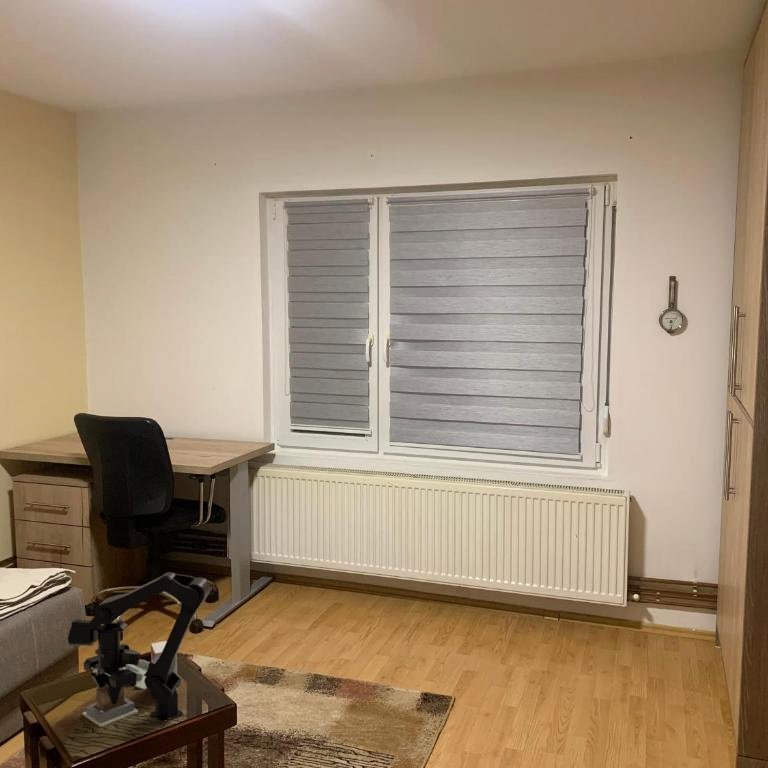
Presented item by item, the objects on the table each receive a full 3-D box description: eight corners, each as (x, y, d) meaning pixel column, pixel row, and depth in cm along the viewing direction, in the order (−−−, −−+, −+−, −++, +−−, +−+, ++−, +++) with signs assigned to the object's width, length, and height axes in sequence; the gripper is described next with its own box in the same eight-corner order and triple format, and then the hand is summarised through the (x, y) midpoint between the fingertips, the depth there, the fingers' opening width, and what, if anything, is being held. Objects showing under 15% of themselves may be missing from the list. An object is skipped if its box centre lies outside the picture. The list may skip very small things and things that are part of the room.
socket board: (138, 712, 215) (138, 703, 215) (100, 726, 207) (100, 717, 207) (119, 700, 222) (119, 692, 221) (82, 714, 213) (82, 705, 213)
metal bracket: (105, 668, 231) (131, 648, 246) (100, 685, 231) (126, 665, 246) (148, 685, 228) (172, 664, 243) (143, 703, 229) (167, 681, 244)
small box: (151, 686, 231) (150, 643, 230) (173, 682, 234) (172, 639, 233) (155, 697, 224) (154, 653, 223) (177, 693, 226) (177, 649, 226)
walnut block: (124, 704, 215) (123, 686, 215) (103, 711, 210) (103, 693, 210) (116, 699, 218) (116, 682, 217) (96, 707, 213) (96, 689, 213)
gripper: (154, 645, 213) (155, 701, 214) (119, 628, 225) (120, 681, 226) (116, 658, 205) (117, 716, 205) (82, 639, 217) (83, 694, 218)
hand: (110, 701), depth 214 cm, fingers closed on walnut block, 4 cm apart
